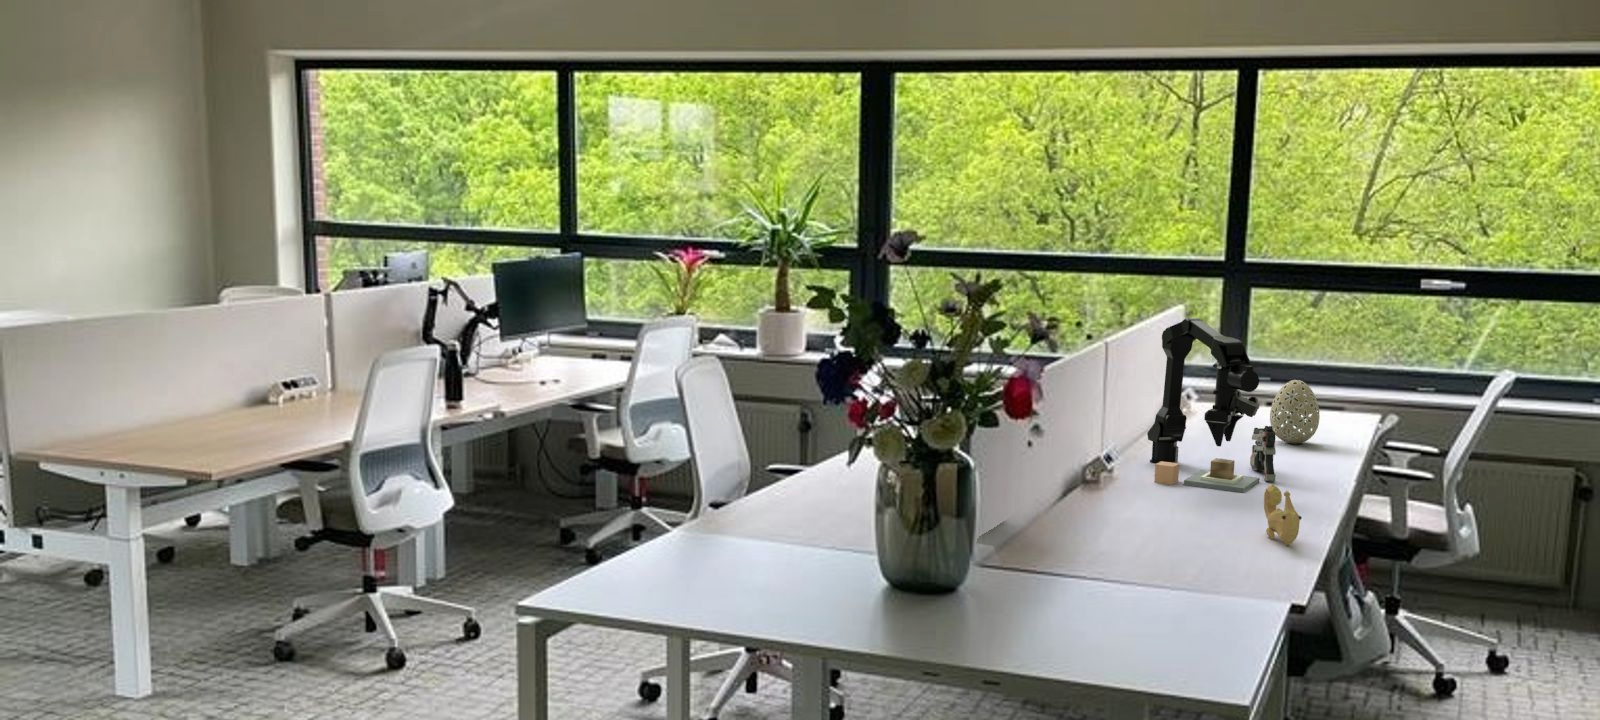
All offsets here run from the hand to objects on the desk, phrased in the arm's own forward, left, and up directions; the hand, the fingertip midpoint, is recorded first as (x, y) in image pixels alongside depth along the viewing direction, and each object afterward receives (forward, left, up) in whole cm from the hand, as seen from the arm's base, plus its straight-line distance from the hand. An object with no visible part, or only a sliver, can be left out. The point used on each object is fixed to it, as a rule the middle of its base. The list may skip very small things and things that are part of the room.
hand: (1223, 443), depth 387 cm
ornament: (+2, +73, -11) cm, 74 cm away
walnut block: (0, 0, -10) cm, 10 cm away
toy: (+28, -53, -11) cm, 61 cm away
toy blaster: (+6, +19, -11) cm, 23 cm away
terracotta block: (-13, -7, -11) cm, 18 cm away
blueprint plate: (0, 0, -11) cm, 11 cm away
